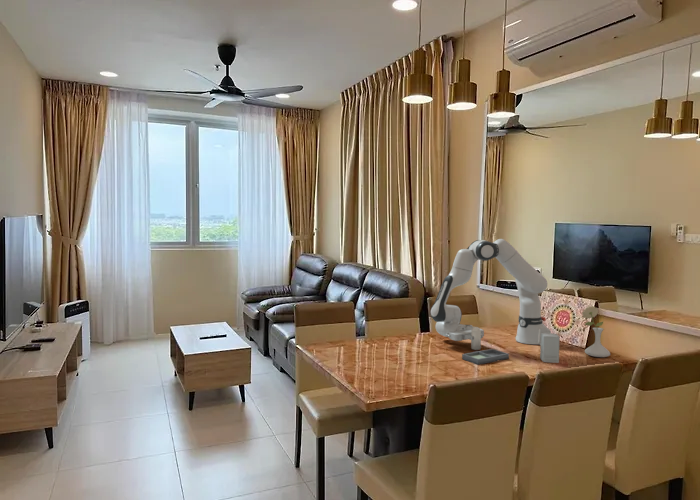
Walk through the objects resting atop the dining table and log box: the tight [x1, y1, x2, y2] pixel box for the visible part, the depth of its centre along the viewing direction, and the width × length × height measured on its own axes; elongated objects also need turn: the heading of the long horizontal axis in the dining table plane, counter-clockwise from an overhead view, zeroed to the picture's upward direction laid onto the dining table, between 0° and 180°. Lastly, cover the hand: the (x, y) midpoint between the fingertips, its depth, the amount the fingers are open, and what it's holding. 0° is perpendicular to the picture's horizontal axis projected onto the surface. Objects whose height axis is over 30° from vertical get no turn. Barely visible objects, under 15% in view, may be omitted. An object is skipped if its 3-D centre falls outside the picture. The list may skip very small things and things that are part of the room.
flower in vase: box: [581, 305, 611, 358], centre depth 238 cm, size 13×11×25 cm
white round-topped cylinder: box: [470, 326, 482, 351], centre depth 248 cm, size 5×5×11 cm
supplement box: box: [539, 332, 560, 364], centre depth 230 cm, size 7×7×13 cm
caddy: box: [461, 348, 510, 366], centre depth 233 cm, size 20×11×2 cm, turn 120°
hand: (477, 337), depth 247 cm, fingers closed on white round-topped cylinder, 5 cm apart
